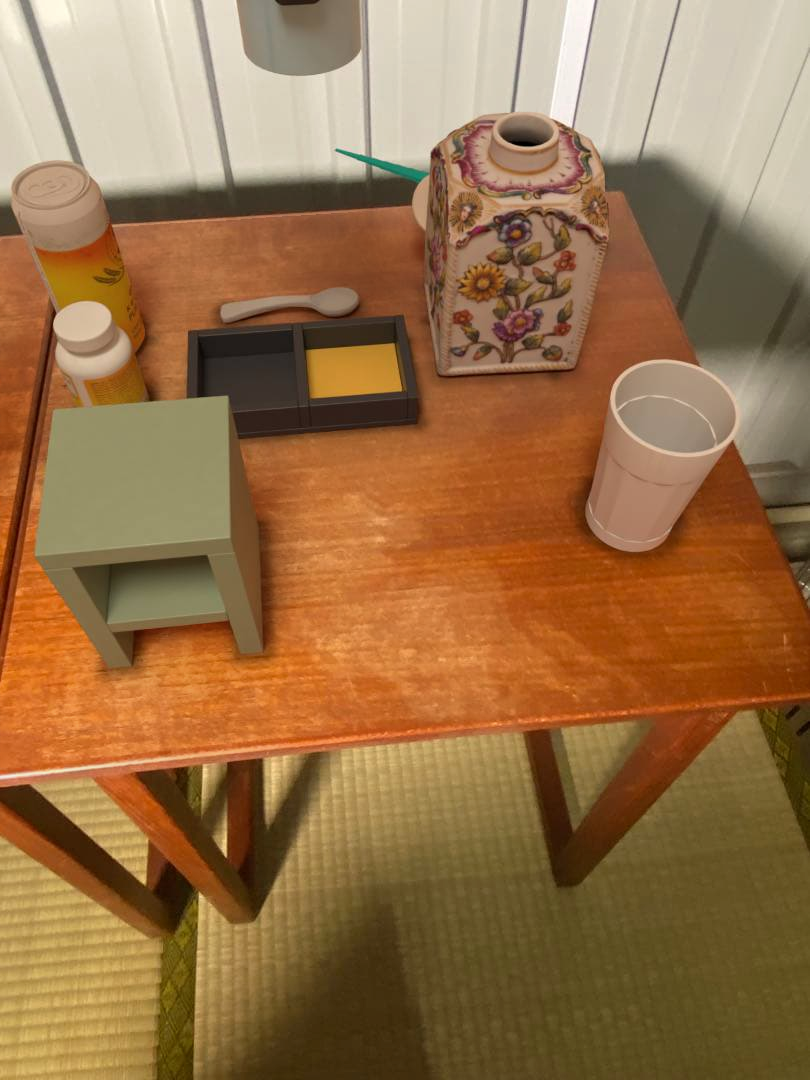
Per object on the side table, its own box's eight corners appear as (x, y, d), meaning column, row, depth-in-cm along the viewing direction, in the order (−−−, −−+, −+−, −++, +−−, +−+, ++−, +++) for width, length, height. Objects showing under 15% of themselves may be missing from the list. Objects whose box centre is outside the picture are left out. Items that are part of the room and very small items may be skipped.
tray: (194, 442, 65) (186, 416, 63) (195, 358, 70) (187, 329, 67) (417, 424, 67) (418, 397, 64) (403, 342, 71) (403, 314, 69)
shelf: (109, 669, 55) (33, 556, 43) (117, 540, 60) (52, 408, 48) (263, 652, 56) (230, 537, 44) (258, 527, 61) (228, 394, 49)
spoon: (361, 319, 73) (359, 301, 71) (224, 336, 73) (218, 318, 71) (358, 296, 74) (356, 278, 73) (224, 312, 74) (218, 294, 73)
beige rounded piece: (399, 211, 70) (392, 226, 80) (449, 250, 71) (436, 259, 81) (436, 157, 69) (424, 178, 79) (487, 197, 70) (468, 213, 80)
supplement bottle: (70, 428, 66) (26, 336, 58) (104, 380, 68) (66, 286, 60) (132, 445, 65) (96, 355, 57) (164, 396, 68) (134, 303, 60)
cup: (657, 464, 65) (707, 350, 55) (700, 549, 61) (763, 443, 51) (559, 483, 64) (591, 370, 54) (596, 571, 60) (639, 467, 49)
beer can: (159, 351, 70) (110, 190, 58) (90, 380, 68) (24, 221, 56) (129, 308, 73) (75, 147, 60) (61, 336, 71) (-8, 174, 58)
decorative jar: (577, 374, 70) (630, 176, 54) (437, 381, 69) (451, 184, 54) (550, 277, 76) (591, 76, 61) (422, 283, 75) (431, 81, 60)
